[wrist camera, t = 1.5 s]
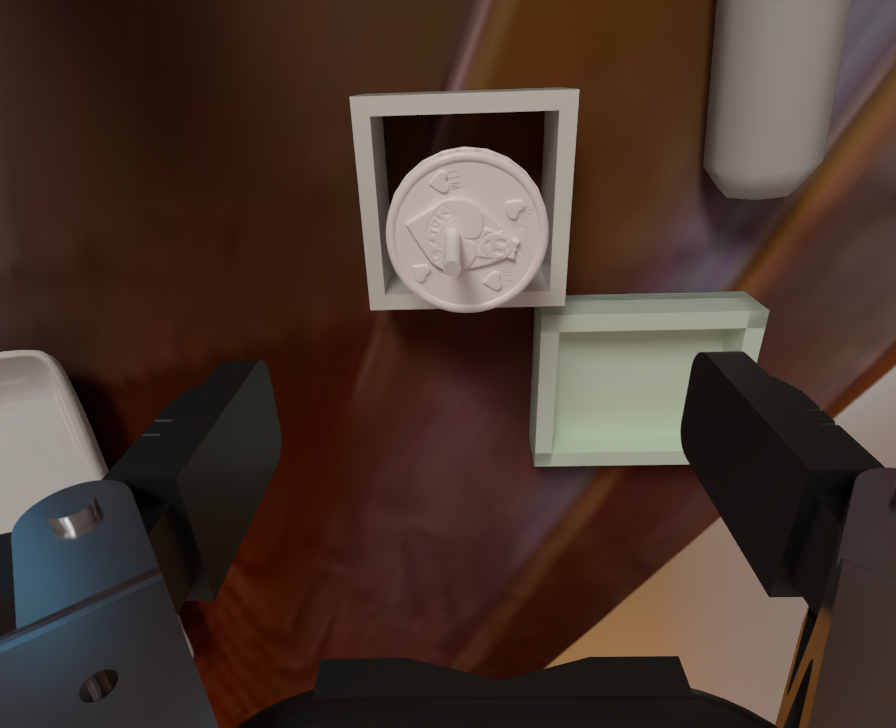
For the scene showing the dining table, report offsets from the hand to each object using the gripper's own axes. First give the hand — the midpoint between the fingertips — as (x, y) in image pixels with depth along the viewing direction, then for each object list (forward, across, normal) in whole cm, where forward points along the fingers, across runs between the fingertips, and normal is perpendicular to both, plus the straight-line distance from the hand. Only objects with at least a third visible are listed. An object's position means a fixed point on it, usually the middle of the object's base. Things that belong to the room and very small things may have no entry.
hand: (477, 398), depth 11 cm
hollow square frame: (+22, 0, 0) cm, 22 cm away
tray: (+22, -10, +11) cm, 27 cm away
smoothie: (+22, 0, 0) cm, 22 cm away
